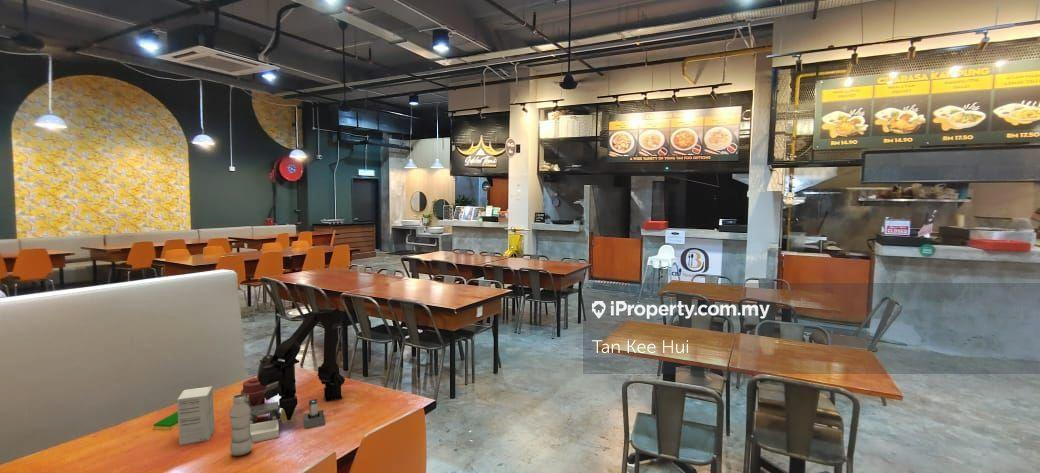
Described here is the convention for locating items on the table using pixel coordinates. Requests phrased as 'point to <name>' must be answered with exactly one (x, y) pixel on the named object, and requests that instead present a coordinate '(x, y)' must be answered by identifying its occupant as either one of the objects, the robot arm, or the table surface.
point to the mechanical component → (254, 391)
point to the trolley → (264, 411)
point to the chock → (284, 418)
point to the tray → (264, 431)
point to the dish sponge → (167, 422)
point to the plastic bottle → (240, 426)
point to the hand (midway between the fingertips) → (288, 415)
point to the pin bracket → (314, 420)
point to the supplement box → (195, 415)
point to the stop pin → (313, 408)
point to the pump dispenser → (265, 365)
